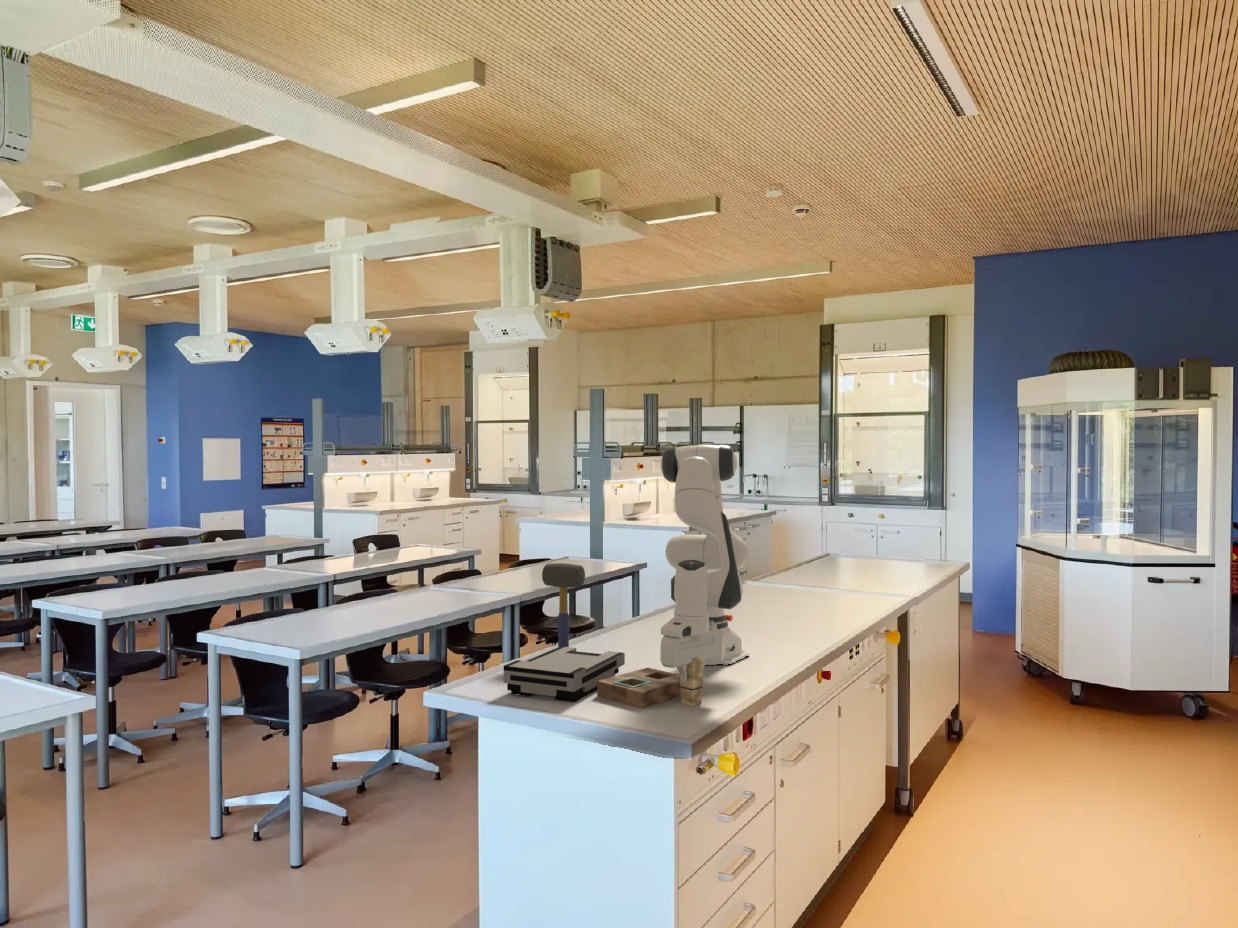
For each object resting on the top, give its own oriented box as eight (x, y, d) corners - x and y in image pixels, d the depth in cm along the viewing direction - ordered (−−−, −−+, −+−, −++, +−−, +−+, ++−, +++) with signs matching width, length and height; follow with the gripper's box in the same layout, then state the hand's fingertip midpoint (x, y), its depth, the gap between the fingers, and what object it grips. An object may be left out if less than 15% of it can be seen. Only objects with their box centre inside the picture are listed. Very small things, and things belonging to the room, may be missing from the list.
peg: (690, 699, 215) (690, 653, 215) (702, 703, 212) (702, 656, 212) (680, 703, 212) (680, 656, 212) (692, 706, 209) (692, 658, 209)
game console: (624, 676, 240) (624, 648, 240) (573, 706, 211) (573, 673, 211) (560, 669, 248) (560, 642, 248) (503, 696, 219) (503, 665, 219)
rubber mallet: (540, 660, 259) (540, 563, 259) (551, 655, 266) (551, 561, 266) (576, 663, 254) (576, 565, 254) (586, 658, 261) (586, 562, 261)
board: (647, 681, 233) (647, 666, 233) (692, 692, 222) (692, 676, 222) (597, 696, 219) (597, 680, 219) (642, 708, 208) (642, 691, 208)
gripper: (706, 617, 222) (706, 669, 222) (656, 628, 207) (656, 684, 207) (725, 620, 218) (725, 673, 218) (675, 632, 203) (675, 689, 203)
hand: (691, 679), depth 212 cm, fingers closed on peg, 4 cm apart
